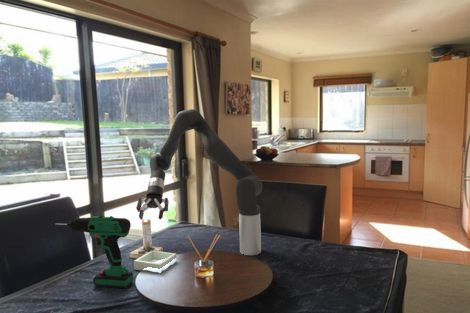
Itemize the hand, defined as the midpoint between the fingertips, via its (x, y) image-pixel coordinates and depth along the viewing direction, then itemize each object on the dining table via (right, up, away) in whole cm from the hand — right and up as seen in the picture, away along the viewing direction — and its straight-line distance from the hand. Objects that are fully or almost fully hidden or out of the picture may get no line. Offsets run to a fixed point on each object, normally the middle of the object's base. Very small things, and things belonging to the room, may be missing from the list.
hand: (150, 218), depth 166 cm
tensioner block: (0, -15, -6) cm, 16 cm away
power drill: (-12, -18, -33) cm, 40 cm away
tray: (+7, -16, -18) cm, 25 cm away
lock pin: (0, -15, -5) cm, 15 cm away
